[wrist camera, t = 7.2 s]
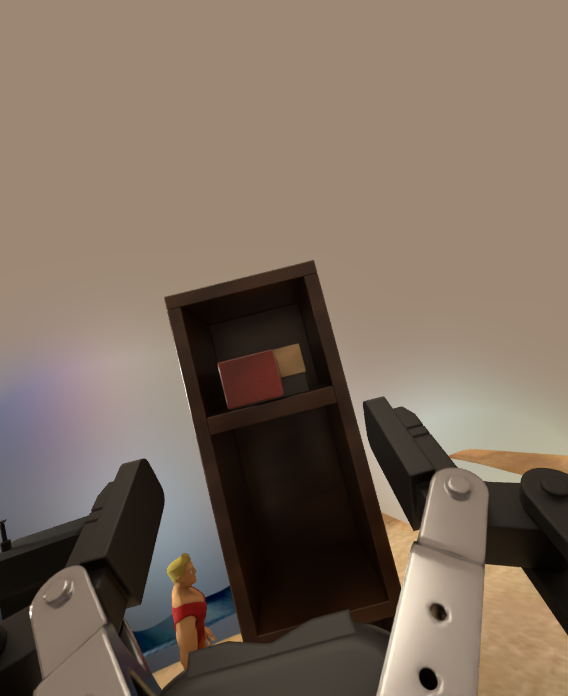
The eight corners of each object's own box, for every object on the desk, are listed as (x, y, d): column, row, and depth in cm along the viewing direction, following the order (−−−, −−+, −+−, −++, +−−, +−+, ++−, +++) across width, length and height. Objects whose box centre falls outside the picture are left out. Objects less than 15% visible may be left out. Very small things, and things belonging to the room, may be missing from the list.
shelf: (299, 889, 21) (163, 296, 24) (294, 729, 30) (197, 318, 33) (469, 841, 21) (313, 259, 24) (411, 696, 31) (305, 291, 34)
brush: (189, 438, 14) (171, 356, 14) (242, 402, 32) (233, 366, 32) (329, 402, 14) (308, 321, 14) (304, 386, 32) (295, 350, 32)
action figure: (236, 727, 32) (199, 566, 33) (198, 751, 31) (161, 583, 32) (219, 658, 41) (191, 532, 42) (189, 674, 39) (161, 544, 40)
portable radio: (156, 737, 33) (103, 482, 35) (151, 807, 27) (88, 498, 29) (64, 788, 30) (12, 510, 32) (39, 878, 25) (-23, 533, 26)
